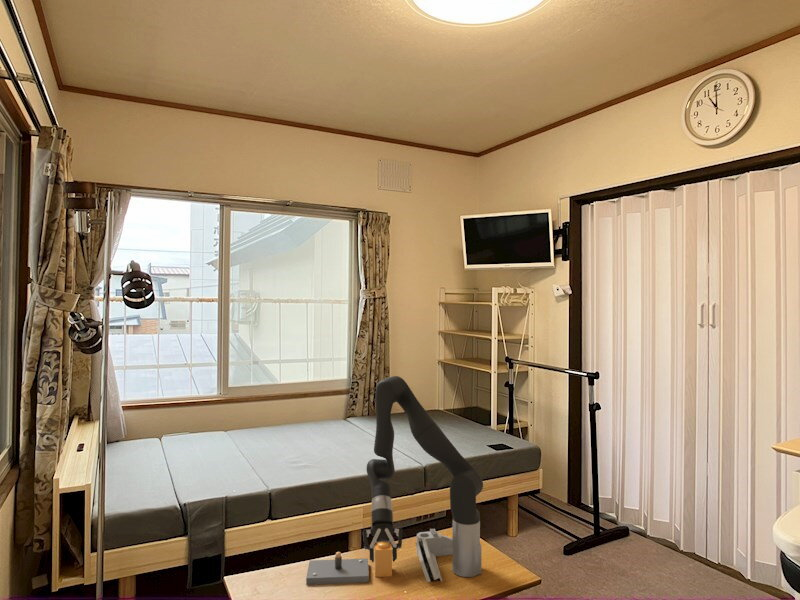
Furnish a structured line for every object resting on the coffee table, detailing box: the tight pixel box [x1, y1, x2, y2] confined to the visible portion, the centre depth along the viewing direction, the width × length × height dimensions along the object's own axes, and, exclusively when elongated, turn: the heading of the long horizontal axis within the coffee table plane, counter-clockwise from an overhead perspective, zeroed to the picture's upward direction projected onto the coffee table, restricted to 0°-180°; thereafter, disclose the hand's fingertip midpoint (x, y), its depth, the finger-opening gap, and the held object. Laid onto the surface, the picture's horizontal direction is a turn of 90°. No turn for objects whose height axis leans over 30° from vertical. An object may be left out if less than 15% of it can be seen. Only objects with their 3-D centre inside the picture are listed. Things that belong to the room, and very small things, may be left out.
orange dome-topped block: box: [374, 541, 393, 578], centre depth 179 cm, size 6×6×10 cm
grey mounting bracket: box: [416, 528, 453, 557], centre depth 194 cm, size 6×18×8 cm, turn 103°
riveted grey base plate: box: [305, 551, 370, 585], centre depth 178 cm, size 20×12×7 cm, turn 95°
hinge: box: [415, 539, 443, 583], centre depth 181 cm, size 17×5×10 cm, turn 4°
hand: (383, 561), depth 177 cm, fingers open, 6 cm apart
